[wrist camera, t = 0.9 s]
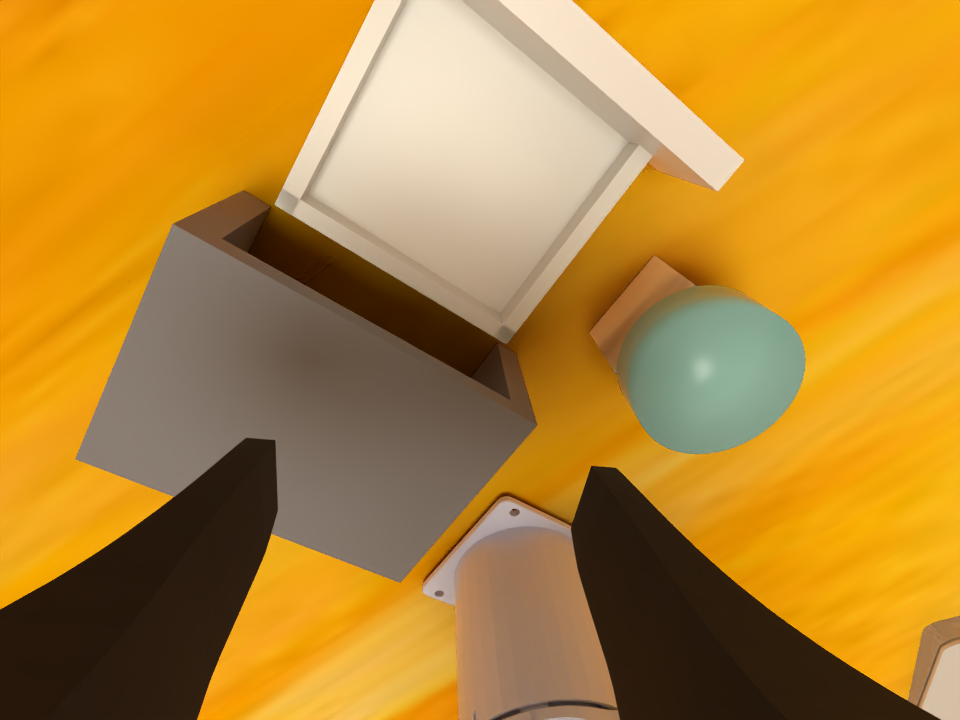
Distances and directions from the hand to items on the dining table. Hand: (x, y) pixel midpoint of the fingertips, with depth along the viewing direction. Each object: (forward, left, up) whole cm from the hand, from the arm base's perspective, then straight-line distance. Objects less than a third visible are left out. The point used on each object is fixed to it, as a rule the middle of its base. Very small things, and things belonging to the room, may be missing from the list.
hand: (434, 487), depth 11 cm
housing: (+2, +4, -10) cm, 11 cm away
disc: (-8, -5, -6) cm, 11 cm away
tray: (+2, -5, -10) cm, 11 cm away
